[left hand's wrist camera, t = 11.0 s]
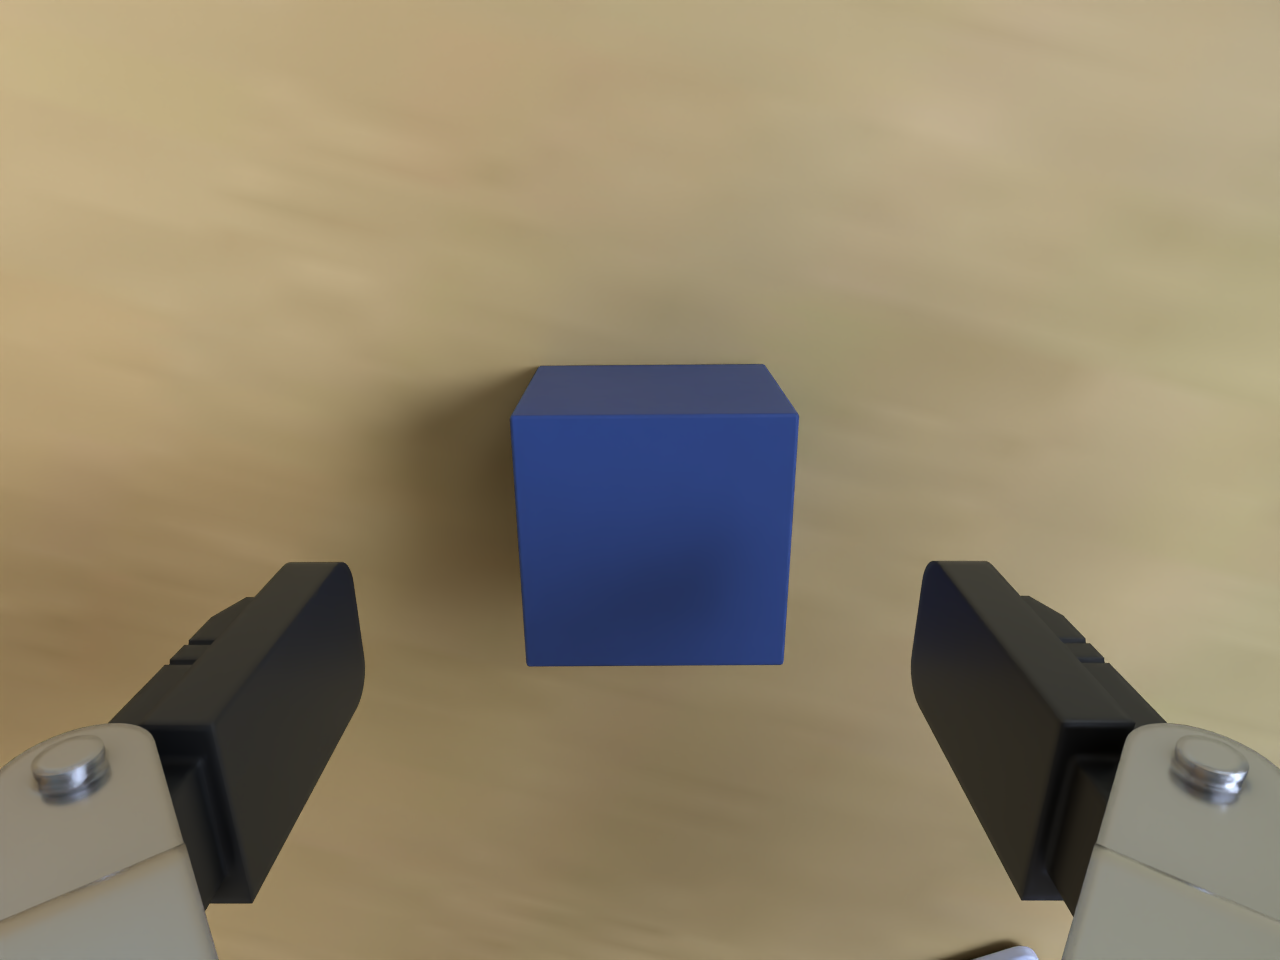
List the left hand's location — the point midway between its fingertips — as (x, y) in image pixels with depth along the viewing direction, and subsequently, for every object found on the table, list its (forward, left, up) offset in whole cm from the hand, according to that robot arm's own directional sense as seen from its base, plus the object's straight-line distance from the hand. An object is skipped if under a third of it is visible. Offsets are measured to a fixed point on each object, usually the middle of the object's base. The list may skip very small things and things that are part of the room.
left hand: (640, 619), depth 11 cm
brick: (0, +1, -7) cm, 7 cm away
